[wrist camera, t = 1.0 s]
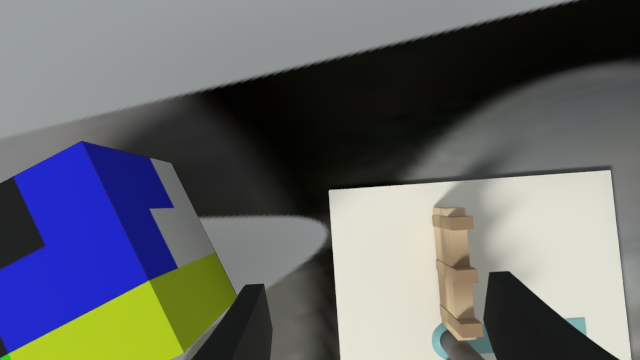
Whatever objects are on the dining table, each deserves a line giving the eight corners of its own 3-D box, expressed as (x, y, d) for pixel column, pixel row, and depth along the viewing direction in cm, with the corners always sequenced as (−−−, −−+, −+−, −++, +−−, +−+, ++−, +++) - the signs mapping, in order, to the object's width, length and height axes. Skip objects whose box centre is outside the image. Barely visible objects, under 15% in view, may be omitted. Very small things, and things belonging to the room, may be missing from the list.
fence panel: (458, 321, 26) (484, 345, 22) (441, 322, 26) (463, 346, 22) (448, 206, 26) (472, 207, 22) (431, 208, 26) (451, 208, 22)
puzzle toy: (171, 163, 28) (81, 140, 18) (238, 297, 27) (183, 352, 17) (39, 231, 28) (-125, 248, 18) (103, 368, 27) (-30, 463, 17)
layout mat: (641, 491, 26) (647, 496, 25) (351, 506, 26) (351, 511, 26) (606, 170, 27) (610, 170, 26) (328, 190, 27) (328, 190, 27)
